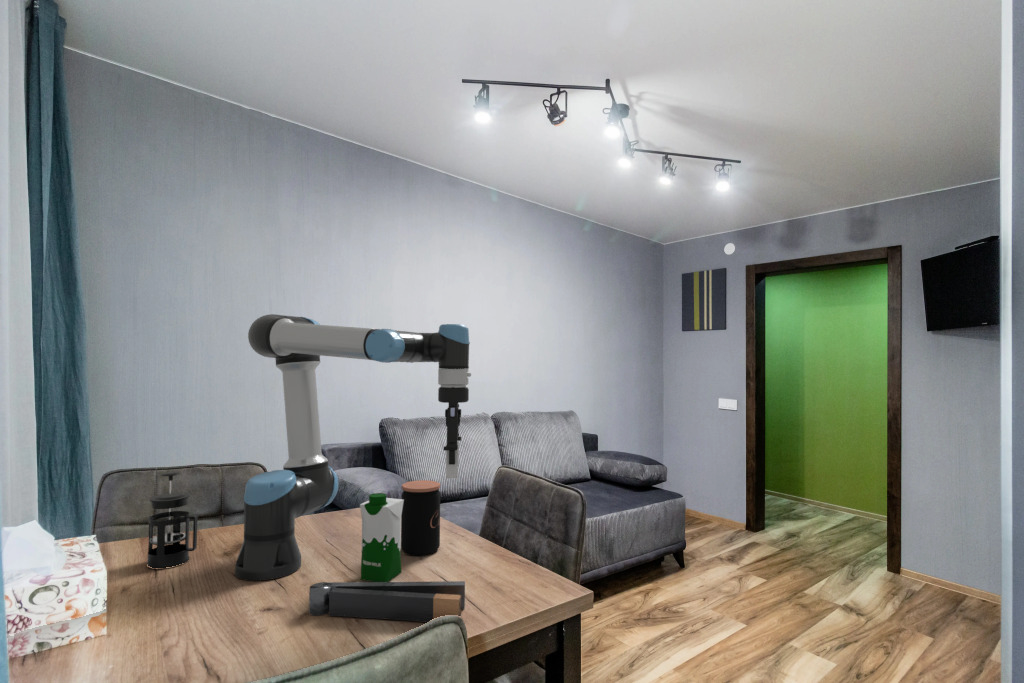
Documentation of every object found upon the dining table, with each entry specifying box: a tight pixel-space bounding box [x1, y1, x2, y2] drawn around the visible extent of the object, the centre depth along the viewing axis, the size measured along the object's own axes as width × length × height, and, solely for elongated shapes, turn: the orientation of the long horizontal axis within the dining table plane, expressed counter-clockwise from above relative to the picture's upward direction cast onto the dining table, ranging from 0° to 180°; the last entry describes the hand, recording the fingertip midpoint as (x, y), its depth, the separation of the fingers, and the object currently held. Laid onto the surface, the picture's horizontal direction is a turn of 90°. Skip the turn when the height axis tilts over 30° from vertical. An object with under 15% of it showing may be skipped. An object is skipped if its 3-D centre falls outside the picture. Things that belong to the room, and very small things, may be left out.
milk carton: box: [359, 492, 404, 582], centre depth 131 cm, size 9×9×20 cm
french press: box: [146, 471, 198, 568], centre depth 139 cm, size 12×9×23 cm
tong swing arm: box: [328, 588, 462, 623], centre depth 109 cm, size 27×2×5 cm, turn 83°
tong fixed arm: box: [308, 580, 466, 617], centre depth 113 cm, size 32×4×5 cm, turn 92°
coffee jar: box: [401, 479, 441, 557], centre depth 149 cm, size 11×11×18 cm
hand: (452, 472), depth 134 cm, fingers open, 13 cm apart
